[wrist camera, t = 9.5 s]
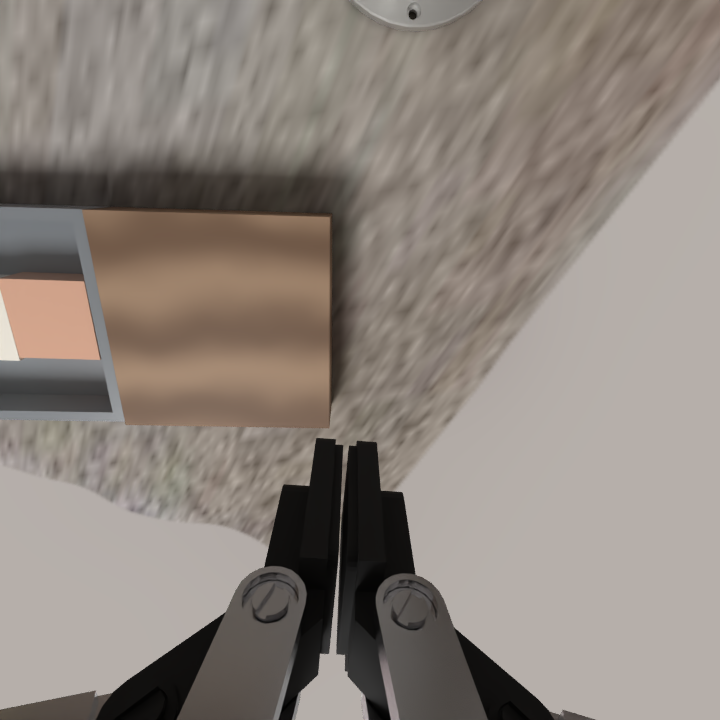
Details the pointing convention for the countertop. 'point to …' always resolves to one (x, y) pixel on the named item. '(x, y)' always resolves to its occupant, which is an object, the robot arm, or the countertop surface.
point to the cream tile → (6, 335)
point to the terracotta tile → (50, 315)
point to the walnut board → (217, 314)
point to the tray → (72, 255)
